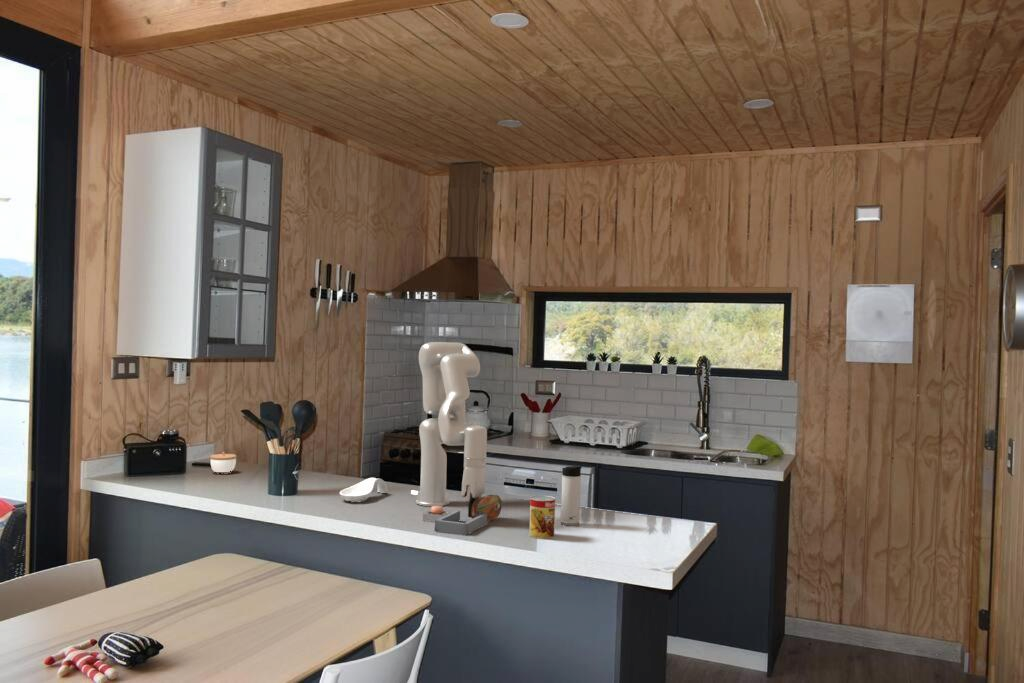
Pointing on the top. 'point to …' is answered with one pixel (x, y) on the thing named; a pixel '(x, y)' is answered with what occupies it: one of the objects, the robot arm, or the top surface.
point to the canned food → (542, 517)
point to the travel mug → (570, 496)
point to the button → (437, 510)
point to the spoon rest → (363, 490)
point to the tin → (487, 506)
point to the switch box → (434, 516)
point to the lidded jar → (223, 462)
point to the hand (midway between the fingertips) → (473, 517)
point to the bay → (452, 526)
